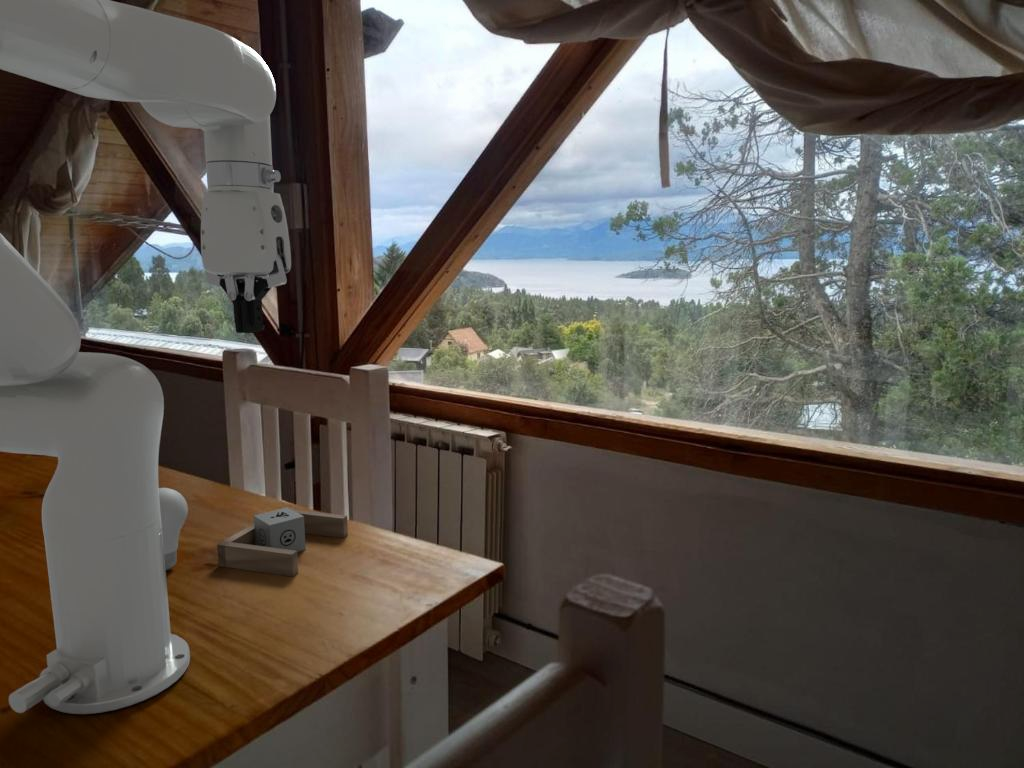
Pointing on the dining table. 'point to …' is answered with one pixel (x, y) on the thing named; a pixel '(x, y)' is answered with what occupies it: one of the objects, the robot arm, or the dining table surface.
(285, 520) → the dice cube
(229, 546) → the box
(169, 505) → the lightbulb
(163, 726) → the dining table surface
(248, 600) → the dining table surface
